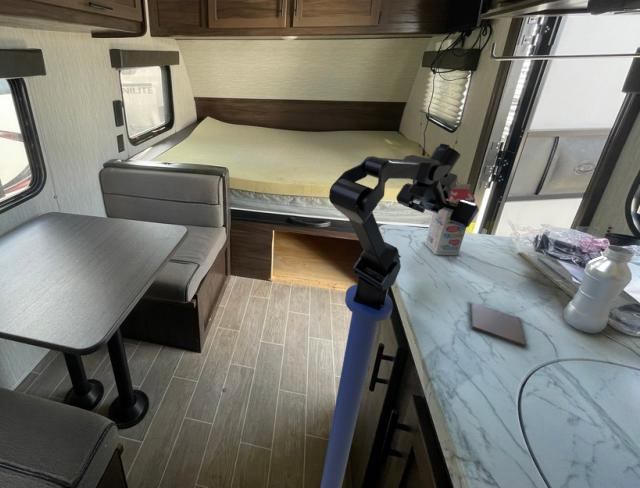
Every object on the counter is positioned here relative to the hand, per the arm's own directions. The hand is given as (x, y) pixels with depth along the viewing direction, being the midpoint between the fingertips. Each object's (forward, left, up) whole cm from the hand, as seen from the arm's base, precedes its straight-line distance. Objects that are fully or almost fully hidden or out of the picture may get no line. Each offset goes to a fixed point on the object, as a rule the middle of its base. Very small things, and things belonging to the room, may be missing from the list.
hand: (439, 217), depth 92 cm
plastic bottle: (+31, -12, -13) cm, 36 cm away
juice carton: (+3, +7, -13) cm, 15 cm away
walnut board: (+15, -22, -13) cm, 30 cm away
